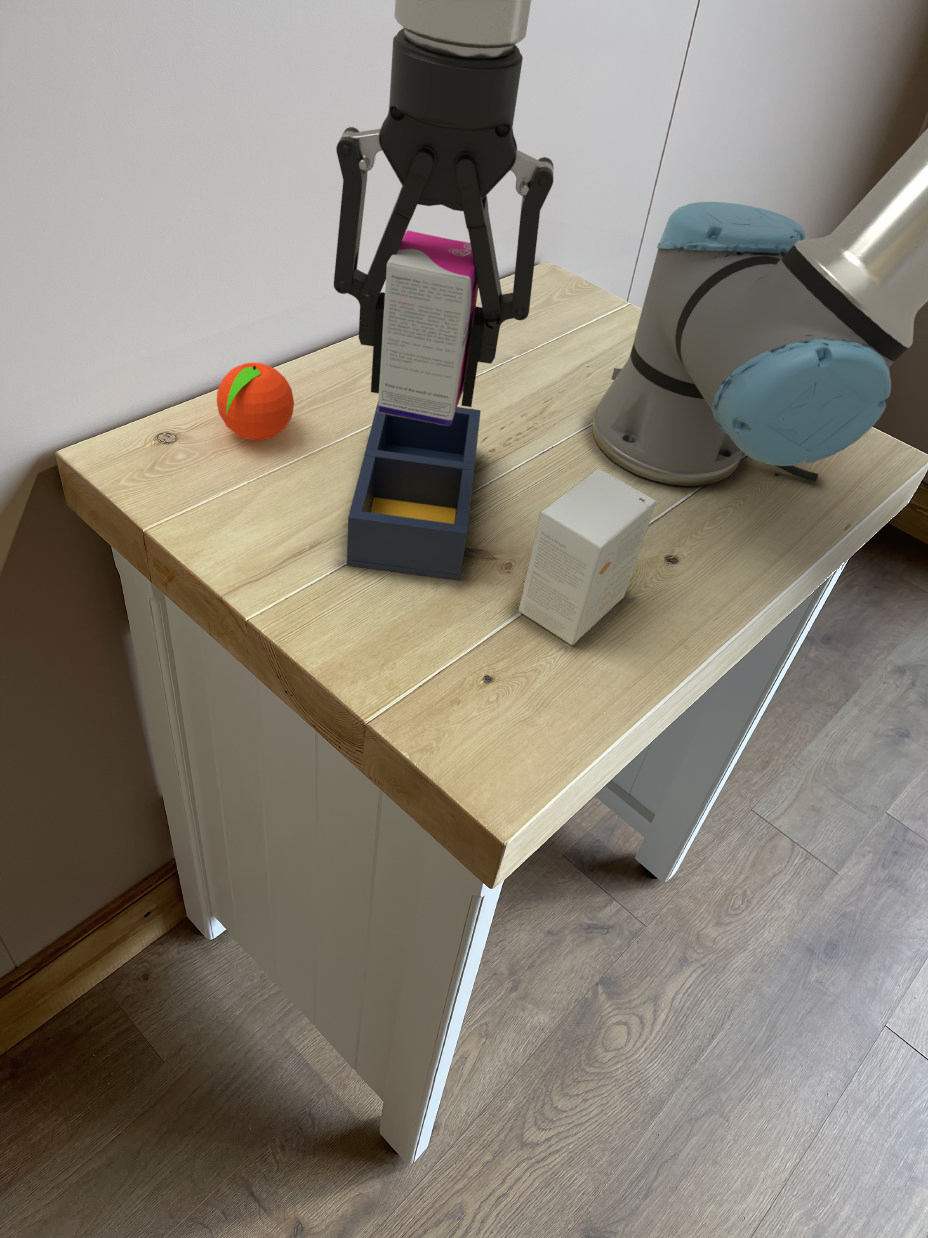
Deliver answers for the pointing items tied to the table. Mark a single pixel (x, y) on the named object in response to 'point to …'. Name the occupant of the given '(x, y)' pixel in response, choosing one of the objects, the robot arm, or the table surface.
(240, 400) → the clementine
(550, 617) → the small box
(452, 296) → the supplement box
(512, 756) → the table surface
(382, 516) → the holder
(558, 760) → the table surface
